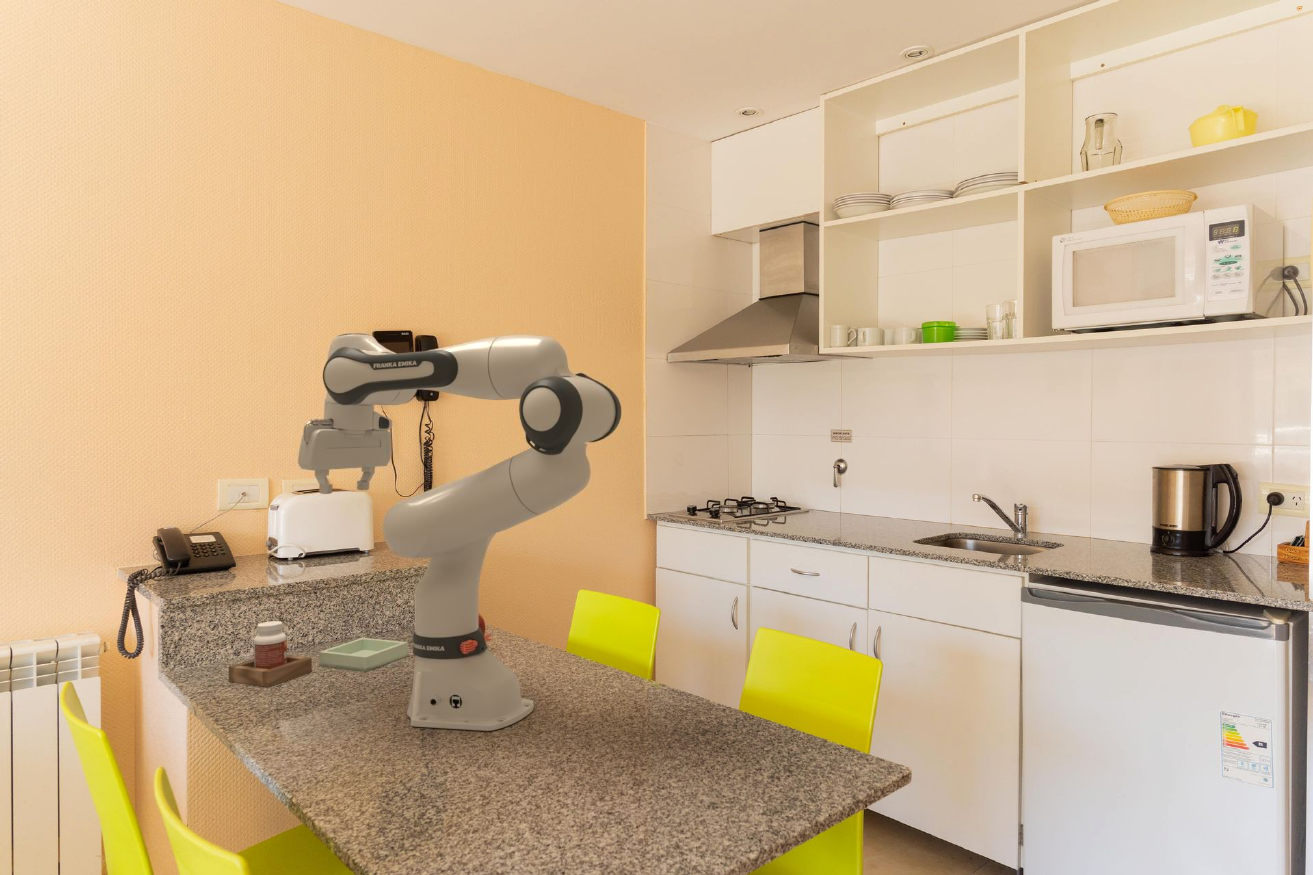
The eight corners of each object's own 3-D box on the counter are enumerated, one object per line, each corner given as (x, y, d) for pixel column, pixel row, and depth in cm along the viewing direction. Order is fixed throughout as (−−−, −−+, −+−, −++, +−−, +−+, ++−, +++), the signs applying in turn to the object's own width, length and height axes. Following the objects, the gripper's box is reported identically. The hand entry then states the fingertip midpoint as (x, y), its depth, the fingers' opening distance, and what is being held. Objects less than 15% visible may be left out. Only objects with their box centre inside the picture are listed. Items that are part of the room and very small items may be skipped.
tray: (407, 655, 182) (407, 642, 182) (366, 671, 170) (365, 657, 170) (362, 650, 187) (362, 637, 187) (319, 665, 175) (319, 651, 175)
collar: (311, 671, 170) (311, 657, 170) (268, 687, 160) (268, 672, 160) (273, 666, 175) (273, 653, 175) (228, 681, 165) (228, 666, 165)
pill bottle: (292, 676, 167) (290, 623, 167) (260, 683, 163) (259, 628, 163) (281, 670, 172) (280, 618, 172) (250, 677, 168) (249, 623, 168)
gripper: (318, 420, 143) (314, 497, 143) (398, 421, 161) (394, 489, 162) (292, 417, 145) (287, 493, 146) (374, 418, 164) (370, 486, 164)
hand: (344, 491), depth 154 cm, fingers open, 8 cm apart
